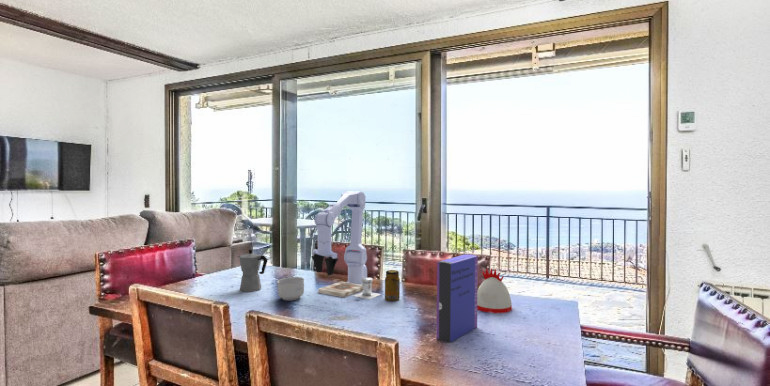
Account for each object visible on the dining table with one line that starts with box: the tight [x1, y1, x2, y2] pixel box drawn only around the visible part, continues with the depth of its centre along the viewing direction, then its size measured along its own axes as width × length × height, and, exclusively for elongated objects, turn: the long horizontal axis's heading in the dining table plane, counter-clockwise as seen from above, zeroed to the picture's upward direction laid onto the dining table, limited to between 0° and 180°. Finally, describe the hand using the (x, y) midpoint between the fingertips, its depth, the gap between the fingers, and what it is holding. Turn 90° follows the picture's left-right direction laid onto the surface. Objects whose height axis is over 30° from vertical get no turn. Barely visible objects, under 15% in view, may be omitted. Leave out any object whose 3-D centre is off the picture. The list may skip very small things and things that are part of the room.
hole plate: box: [317, 281, 362, 298], centre depth 182 cm, size 16×14×2 cm
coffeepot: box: [237, 248, 268, 293], centre depth 185 cm, size 15×9×18 cm, turn 70°
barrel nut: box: [361, 276, 374, 296], centre depth 175 cm, size 5×5×7 cm
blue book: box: [436, 254, 479, 344], centre depth 132 cm, size 17×5×24 cm, turn 141°
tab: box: [352, 291, 382, 300], centre depth 175 cm, size 9×9×1 cm
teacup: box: [276, 276, 305, 302], centre depth 172 cm, size 14×11×8 cm
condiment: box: [384, 269, 401, 302], centre depth 168 cm, size 7×8×12 cm
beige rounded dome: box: [477, 268, 513, 314], centre depth 159 cm, size 14×14×15 cm
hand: (324, 273), depth 173 cm, fingers open, 7 cm apart
